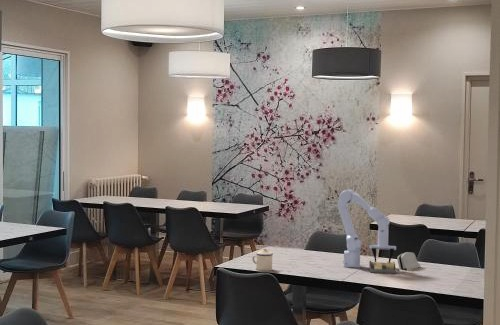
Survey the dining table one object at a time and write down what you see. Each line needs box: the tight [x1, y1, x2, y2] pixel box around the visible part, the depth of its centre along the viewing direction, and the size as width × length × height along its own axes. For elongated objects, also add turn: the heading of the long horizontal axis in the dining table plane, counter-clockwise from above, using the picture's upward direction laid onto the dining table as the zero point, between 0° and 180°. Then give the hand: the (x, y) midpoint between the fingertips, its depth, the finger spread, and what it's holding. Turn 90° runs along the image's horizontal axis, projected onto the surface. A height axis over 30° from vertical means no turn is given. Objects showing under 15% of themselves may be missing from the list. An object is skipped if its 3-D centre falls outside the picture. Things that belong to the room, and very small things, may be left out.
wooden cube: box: [374, 262, 382, 269], centre depth 369 cm, size 4×4×4 cm
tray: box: [369, 266, 397, 275], centre depth 371 cm, size 14×10×2 cm
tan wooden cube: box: [386, 261, 394, 270], centre depth 373 cm, size 4×4×4 cm
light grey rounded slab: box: [396, 251, 421, 271], centre depth 384 cm, size 17×5×10 cm, turn 139°
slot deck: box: [368, 260, 396, 269], centre depth 381 cm, size 14×9×3 cm, turn 81°
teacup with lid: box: [251, 247, 273, 272], centre depth 371 cm, size 12×9×12 cm
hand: (382, 262), depth 378 cm, fingers open, 7 cm apart
